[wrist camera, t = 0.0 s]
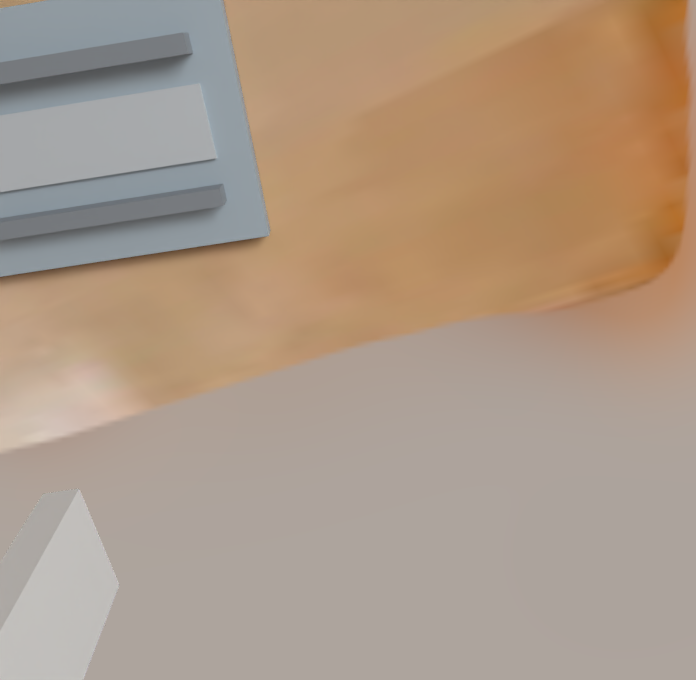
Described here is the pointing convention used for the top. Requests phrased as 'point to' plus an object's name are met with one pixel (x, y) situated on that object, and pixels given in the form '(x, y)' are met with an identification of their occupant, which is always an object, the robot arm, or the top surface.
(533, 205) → the top surface
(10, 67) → the mounting plate
